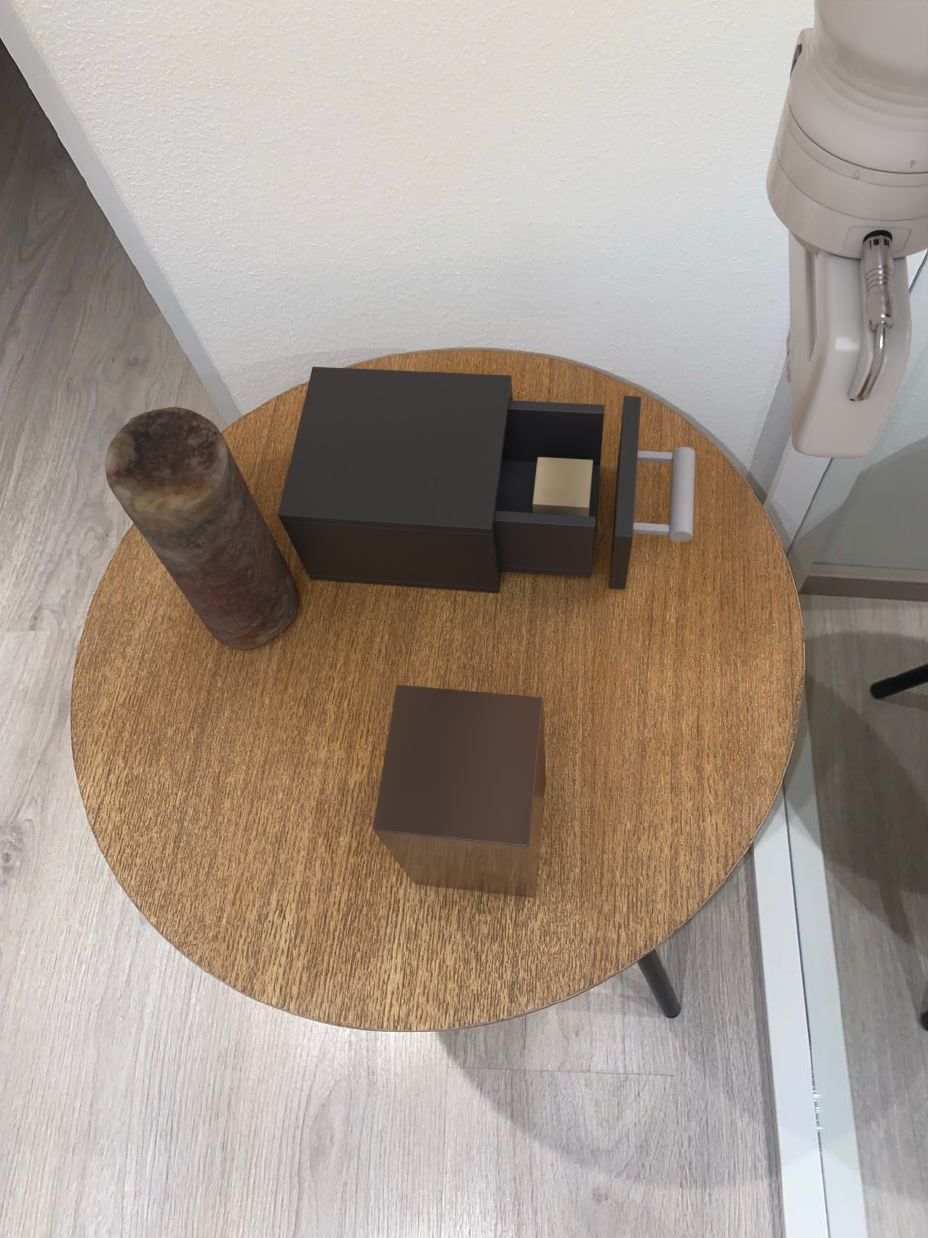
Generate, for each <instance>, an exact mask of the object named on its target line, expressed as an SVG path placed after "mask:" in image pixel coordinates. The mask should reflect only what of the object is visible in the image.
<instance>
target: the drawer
mask: <svg viewBox="0 0 928 1238" xmlns="http://www.w3.org/2000/svg"><path fill="white" fill-rule="evenodd" d="M641 407H642V397H641V396H636V395H624V397H623V403H622V411H621V412H622V413H621V423H620V430H619V431H620V432H619V443H618V453H617V463H616V476H615V478H616V479H615V491H614V506H613V520H612V535H611V551H610V564H609V578H608V589H612V590H622V591H623V590H626V588H627V580H628V573H629V565H630V561H631V560H630V558H631V552H632V545H633V537H634V534H637V535H638V534H639V535H650V536H651V535H652V536H653V535H654V536H668V538H669V539H670V540H671V541H672V542H675V543H687V542H690V541H691V540H692V539H693V535H694V534H693V533H694V507H695V505H694V503H695V502H694V501H695V500H694V499H695V473H696V472H695V471H696V451H695V450H694V449H693V448H692V447H689V446H679V447H676V448H675V449H673V451H656V450H655V451H653V450H652V451H651V450H639V442H640V441H639V440H640V424H641ZM604 420H605V404H599V403H597V404H596V403H575V402H558V401H557V402H556V401H555V402H554V401H536V400H535V401H534V400H515V399H513V400H510V401H509V409H508V417H507V425H506V432H505V440H504V448H503V456H502V464H501V471H500V479H499V487H498V495H497V503H496V510H495V518H494V533H495V542H496V551H497V560H498V568H499V570H500V571H502V572H515V573H529V574H542V575H543V574H544V575H559V576H571V577H572V576H574V577H587V578H591V577H592V575H593V563H594V549H595V537H596V524H597V513H598V501H599V500H598V499H599V489H600V488H599V486H600V476H601V475H600V474H601V473H600V472H601V463H602V461H601V460H602V448H603V433H604V422H605V421H604ZM538 457H548V458H566V459H584V460H593V471H592V488H591V501H590V513H589V517H588V516H572V515H556V514H540V513H533V505H532V503H533V494H534V485H535V476H536V467H537V458H538ZM639 462H642V463H660V464H671V475H670V476H671V479H670V499H669V500H670V501H669V505H670V506H669V523H668V524H667V523H665V524H664V523H650V522H649V523H648V522H635V507H636V506H635V505H636V491H637V490H636V488H637V474H638V463H639Z"/></svg>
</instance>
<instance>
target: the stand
mask: <svg viewBox="0 0 928 1238" xmlns="http://www.w3.org/2000/svg"><path fill="white" fill-rule="evenodd" d="M391 710H392V711H391V716H390V722H389V729H388V735H387V741H386V747H385V752H384V753H385V754H384V759H383V766H382V771H381V778H380V783H379V790H378V796H377V803H376V808H375V813H374V814H375V815H374V821H373V827H372V831H373V832H374V833H375V834H376V836H377V837H378V839H379V840H380V841H381V843H382V844H383V845H384V846H385V848H386V850H388V852H389V853H390V854H391V856H392V857H393V858H394V860H395V861H396V862H397V863H398V865H399V866H400V867H401V869H402V870H403V871H404V872H405V874H406V875H407V877H408V878H409V879H410V880H411V882H412V884H414V885H419V886H426V887H435V888H442V889H443V888H444V889H453V890H461V891H462V890H463V891H470V892H480V893H489V894H497V895H505V896H512V897H513V896H515V897H523V898H531V899H535V898H536V891H537V882H538V881H537V880H538V871H539V858H540V850H541V849H540V848H541V838H542V837H541V836H542V828H543V827H542V826H543V815H544V803H545V793H546V785H547V769H546V766H547V765H546V741H545V738H546V737H545V715H544V711H545V709H544V698H543V697H542V696H531V695H520V694H509V693H496V692H495V693H494V692H486V691H471V690H461V689H451V688H450V689H449V688H438V687H427V686H417V685H416V686H414V685H404V684H396V686H395V692H394V697H393V705H392V709H391Z"/></svg>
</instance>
